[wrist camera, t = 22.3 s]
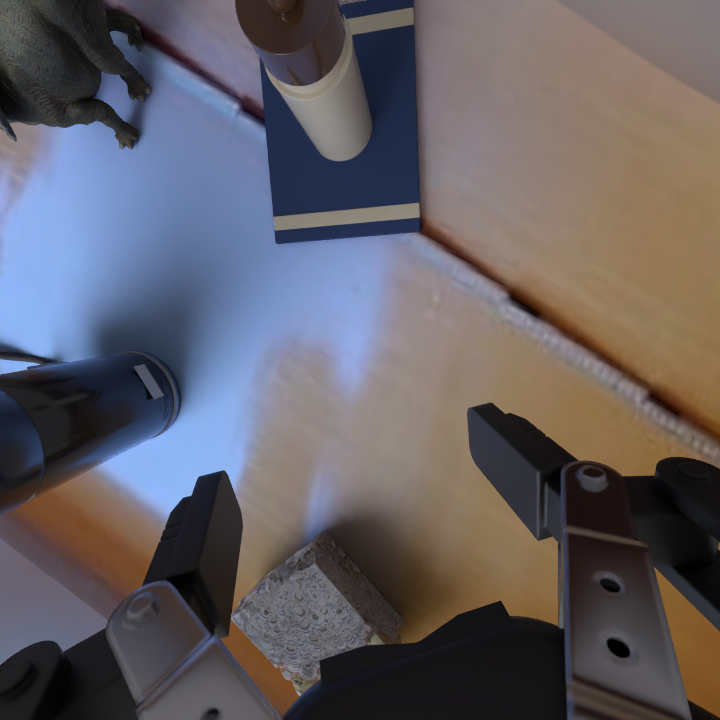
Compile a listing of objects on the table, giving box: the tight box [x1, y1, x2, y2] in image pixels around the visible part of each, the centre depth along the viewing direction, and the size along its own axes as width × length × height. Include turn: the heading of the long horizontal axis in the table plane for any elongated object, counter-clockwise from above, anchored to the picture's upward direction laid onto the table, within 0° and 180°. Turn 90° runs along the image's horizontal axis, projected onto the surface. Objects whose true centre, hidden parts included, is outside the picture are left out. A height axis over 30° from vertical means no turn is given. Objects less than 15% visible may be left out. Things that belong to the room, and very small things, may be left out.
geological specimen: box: [231, 532, 404, 696], centre depth 37 cm, size 11×6×15 cm
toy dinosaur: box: [0, 0, 151, 149], centre depth 28 cm, size 22×8×11 cm, turn 136°
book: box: [260, 0, 420, 244], centre depth 31 cm, size 13×18×1 cm
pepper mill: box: [235, 0, 372, 161], centre depth 24 cm, size 5×5×15 cm
